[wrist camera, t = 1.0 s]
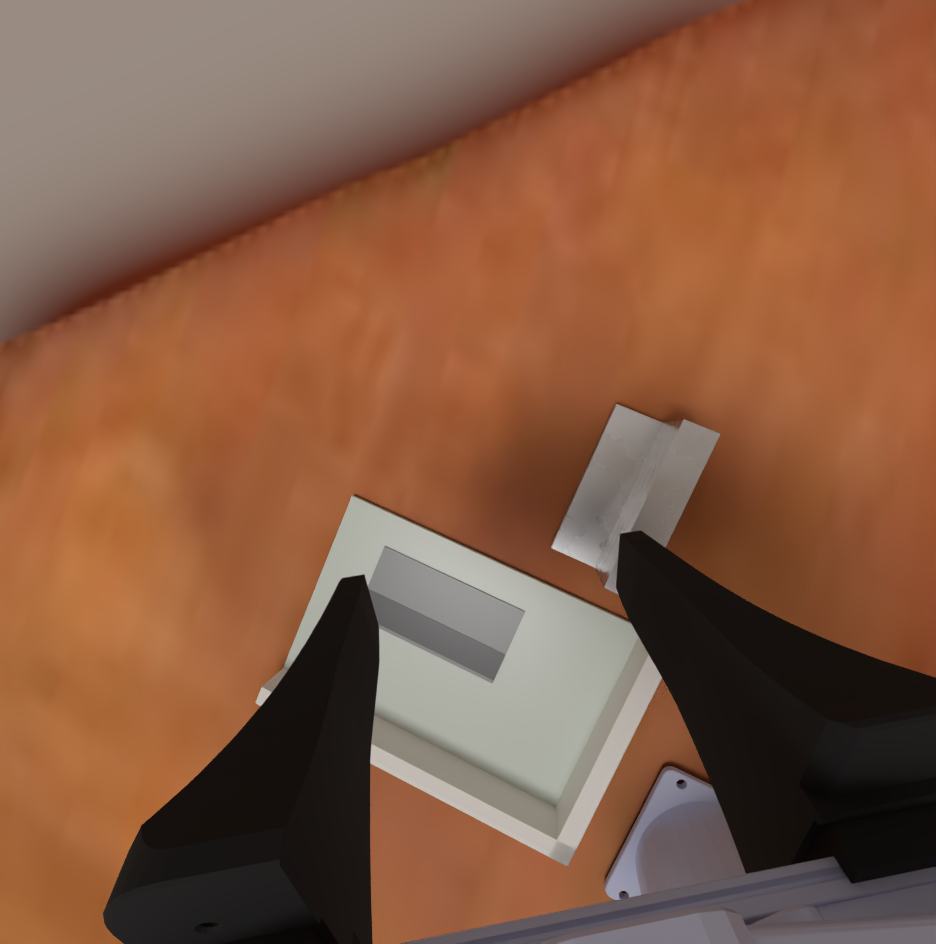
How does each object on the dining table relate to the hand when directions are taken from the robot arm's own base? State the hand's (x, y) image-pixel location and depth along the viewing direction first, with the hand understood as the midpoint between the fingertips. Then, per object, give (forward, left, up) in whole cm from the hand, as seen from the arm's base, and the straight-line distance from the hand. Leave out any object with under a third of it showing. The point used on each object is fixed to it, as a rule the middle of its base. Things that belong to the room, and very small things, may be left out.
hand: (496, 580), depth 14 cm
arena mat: (0, +9, -13) cm, 15 cm away
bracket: (-4, -3, -13) cm, 14 cm away
